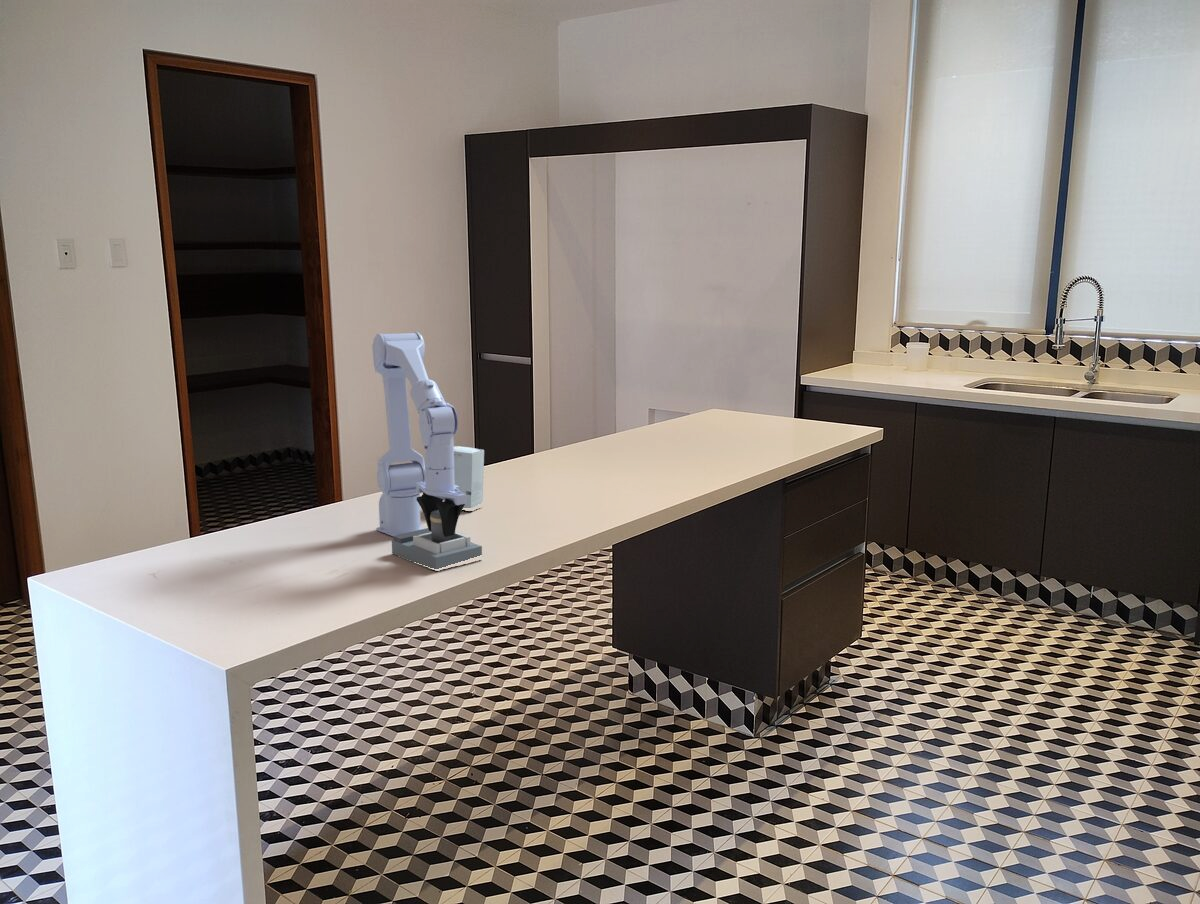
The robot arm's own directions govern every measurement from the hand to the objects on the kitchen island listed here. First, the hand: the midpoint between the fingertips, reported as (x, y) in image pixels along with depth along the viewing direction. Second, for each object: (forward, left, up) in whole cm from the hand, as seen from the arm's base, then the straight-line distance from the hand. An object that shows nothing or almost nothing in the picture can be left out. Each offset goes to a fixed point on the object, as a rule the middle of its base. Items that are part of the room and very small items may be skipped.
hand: (441, 532), depth 195 cm
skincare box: (-30, +27, -6) cm, 41 cm away
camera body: (-2, 0, -6) cm, 6 cm away
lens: (0, 0, -2) cm, 2 cm away
